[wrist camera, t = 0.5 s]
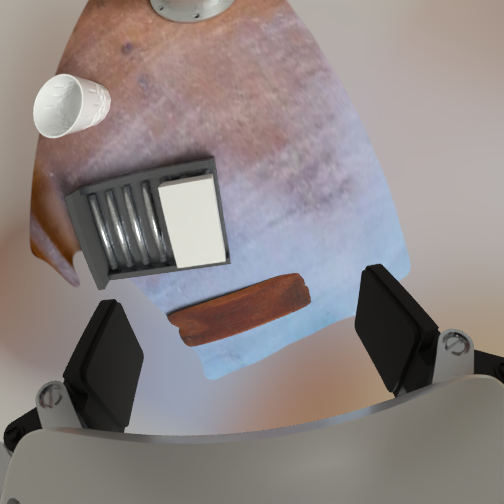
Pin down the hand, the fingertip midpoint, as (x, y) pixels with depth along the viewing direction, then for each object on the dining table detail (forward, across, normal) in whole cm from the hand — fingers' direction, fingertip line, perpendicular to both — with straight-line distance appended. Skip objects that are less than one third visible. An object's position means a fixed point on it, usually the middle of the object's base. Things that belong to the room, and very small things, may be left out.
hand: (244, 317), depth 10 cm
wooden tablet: (+33, +2, +25) cm, 41 cm away
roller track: (+31, +13, +5) cm, 34 cm away
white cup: (+31, +19, -15) cm, 39 cm away
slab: (+29, +6, +5) cm, 30 cm away
